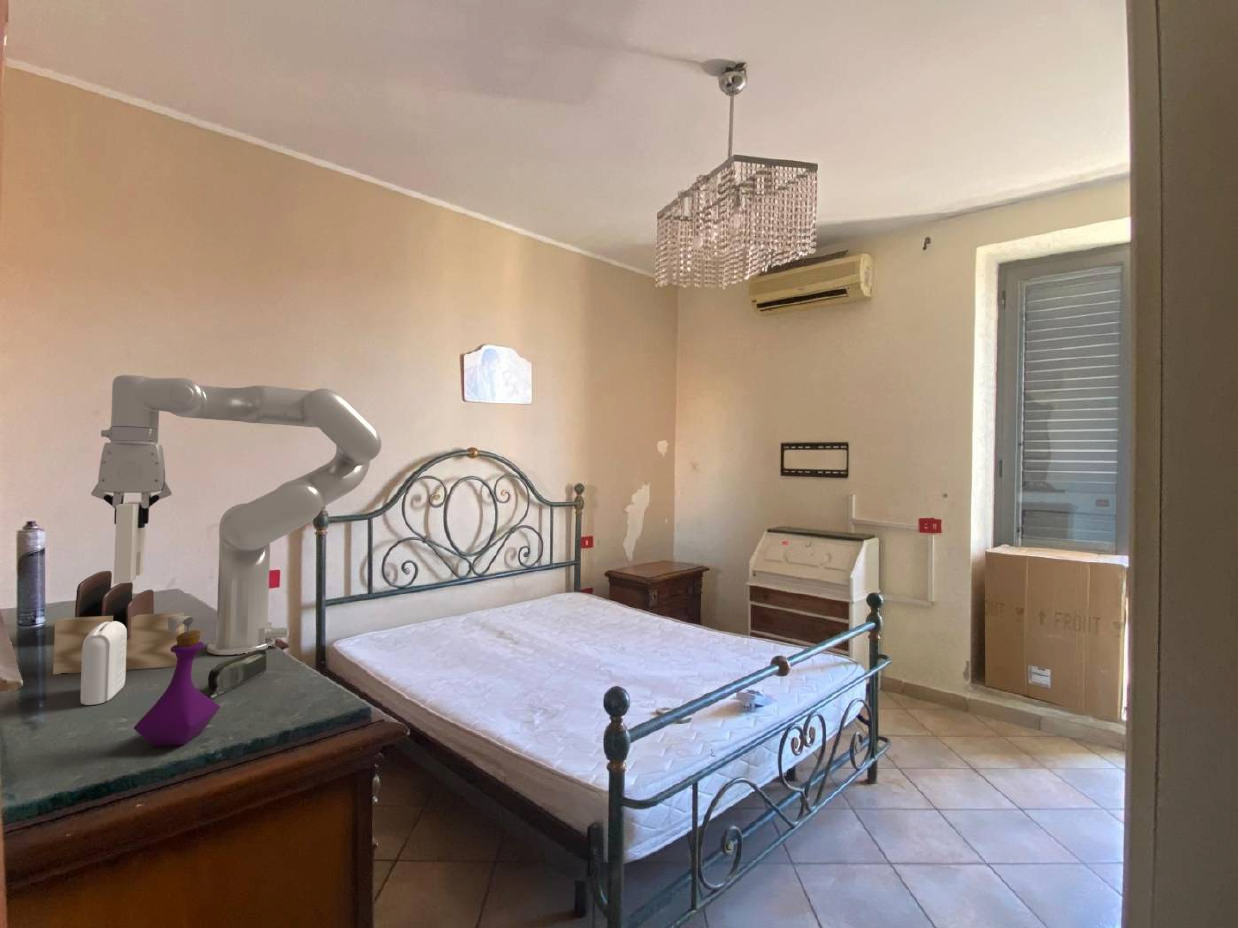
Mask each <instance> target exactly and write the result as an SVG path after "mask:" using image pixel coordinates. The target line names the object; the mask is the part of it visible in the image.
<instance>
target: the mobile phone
mask: <svg viewBox="0 0 1238 928" xmlns="http://www.w3.org/2000/svg"><path fill="white" fill-rule="evenodd" d="M265 671H266V672H267V651H266V649H264V650H255V651H252V652H250V653H245V654H240V655H239V656H236V657H233V658H230V659H227V660H225V661H221V662H220V663H218V664H217V665H216V666H215V667H212V669H211V670H210V671H209V674H208V678H207V689H208V692H209V693H210V696H208V698H209V699H211V700H213V699H215V698H217V697H219V696H221V695H223V694H225V693H227V692H229V691H231V690H233V688H234V689H236V688H238V687H239V686H242V685H244V684H246V683H248V682H247V681H249V682H251V681H252V679H253V678H255V677H256V676H258V675H259V674H261V673H264V672H265ZM266 672H265V673H266ZM265 673H264V674H265ZM255 679H256V678H255ZM250 680H251V681H250ZM253 680H254V679H253ZM245 682H246V683H245ZM243 683H244V684H243ZM241 684H242V685H241Z"/></svg>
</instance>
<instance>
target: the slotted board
mask: <svg viewBox="0 0 1238 928" xmlns="http://www.w3.org/2000/svg"><path fill="white" fill-rule="evenodd" d="M174 616H186V612H174V613H173V612H172V613H171V612H170V613H154V614H144V615H136V616H134V617H132V618H131V637H130V639H128V640H127V644H126V671H127V670H139V669H142V670H143V669H157V668H158V669H159V668H170V667H171V668H172V667H173V668H174V667H175V668H176V665H177V657H176V654H175V653H174V652H171V650H170V649H171V647H172V646H174V645H176V644H177V639H176V637H177V636H178V635H180V634H181V633H184V632H185V625H184V624H183V623H181V624H180V625H179V627H178V628H177V629H176V630H175V631H174V632H173V633H171V632H170V631H169V629H168V618H169V617H174ZM112 621H113V616H97V617H75V616H74V617H62V618H59V619H57V620H55V621H54V643H53V672H52V674H53V675H62V674H61V673H68V674H81V672H82V648H83V643H84V640H85V638H86V637H87V635H88V634H89V633H90V632H91V631H92V630H93V629H94V628H95V627H97V626H98V625H100V624H102V623H104V622H112Z"/></svg>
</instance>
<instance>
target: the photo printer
mask: <svg viewBox="0 0 1238 928" xmlns="http://www.w3.org/2000/svg"><path fill="white" fill-rule="evenodd" d="M127 641H128V639H127V629H126V627H125V626H124V625H123V624H122V623H120V622H118V621H112V622H104V623H102V624H100V625H98V626H97V627H95V628H94V629H93V630H92V631H91V632H90V633H89V634H88V635H87V637H86V638H85V640H84V643H83V648H82V672H81V673H80V675H81V676H80V704H81V705H85V706H94V705H101V704H103V703H104V704H105V703H106V702H108V701H109V700H111V699H112V698H113V697H115V695H117V694H118V693H119V691H121V689H123V687H124V686H125V684H126V673H127V672H126V671H127V670H126V644H127Z"/></svg>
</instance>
